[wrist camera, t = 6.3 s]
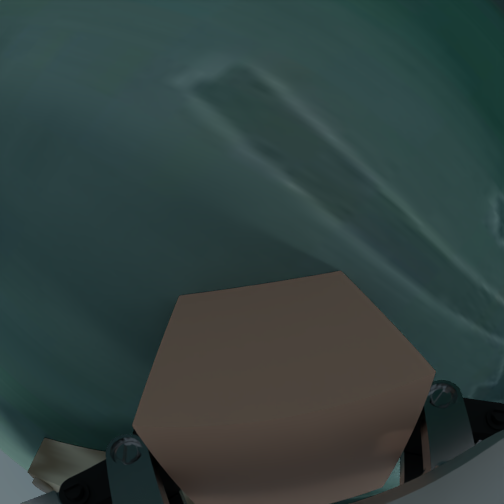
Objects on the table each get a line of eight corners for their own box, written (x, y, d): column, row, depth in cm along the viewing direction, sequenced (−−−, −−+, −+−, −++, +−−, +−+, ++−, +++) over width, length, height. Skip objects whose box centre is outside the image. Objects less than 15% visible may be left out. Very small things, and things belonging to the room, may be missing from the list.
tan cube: (340, 270, 10) (435, 371, 4) (338, 385, 12) (382, 486, 6) (178, 295, 10) (132, 425, 4) (213, 406, 12) (209, 518, 6)
